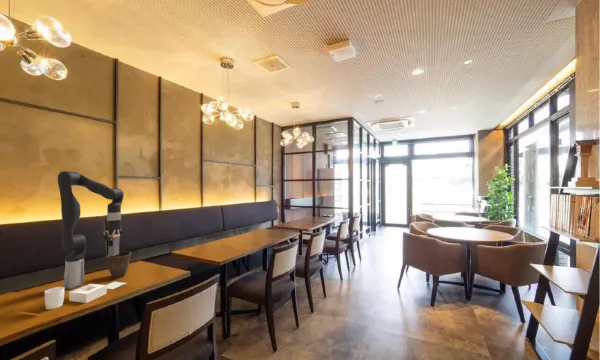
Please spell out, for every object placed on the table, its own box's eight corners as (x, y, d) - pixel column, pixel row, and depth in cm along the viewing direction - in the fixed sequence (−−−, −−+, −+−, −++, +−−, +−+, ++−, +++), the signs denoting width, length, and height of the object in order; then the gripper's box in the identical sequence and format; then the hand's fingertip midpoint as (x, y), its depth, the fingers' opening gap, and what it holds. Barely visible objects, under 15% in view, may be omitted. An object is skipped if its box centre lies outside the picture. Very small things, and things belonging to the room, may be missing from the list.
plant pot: (108, 274, 188) (109, 252, 188) (132, 271, 194) (132, 250, 194) (103, 281, 175) (103, 258, 175) (128, 278, 181) (129, 255, 181)
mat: (99, 289, 162) (99, 287, 162) (114, 283, 172) (114, 281, 172) (112, 290, 160) (112, 289, 160) (126, 284, 170) (126, 282, 170)
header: (69, 302, 145) (69, 291, 145) (90, 293, 156) (90, 283, 156) (86, 304, 142) (86, 293, 142) (106, 295, 154) (106, 285, 154)
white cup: (41, 312, 133) (41, 293, 133) (48, 306, 140) (48, 287, 140) (60, 309, 136) (60, 291, 136) (66, 303, 144) (67, 285, 144)
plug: (107, 255, 164) (107, 235, 164) (114, 253, 169) (114, 234, 169) (113, 256, 163) (113, 235, 163) (119, 254, 168) (120, 234, 168)
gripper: (119, 217, 174) (118, 242, 174) (98, 220, 160) (98, 247, 160) (128, 217, 172) (128, 243, 172) (108, 221, 158) (108, 248, 158)
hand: (113, 245), depth 166 cm, fingers closed on plug, 4 cm apart
